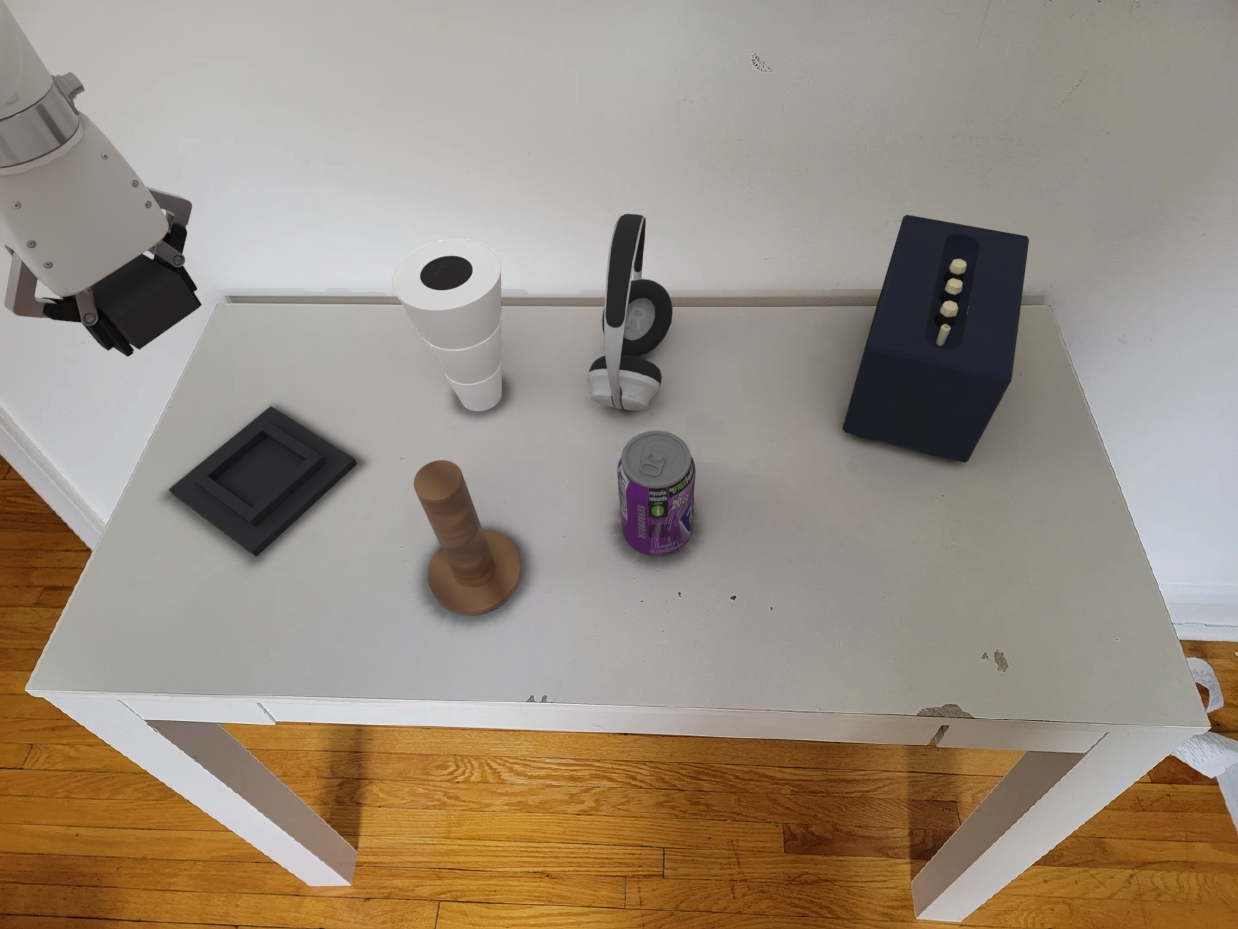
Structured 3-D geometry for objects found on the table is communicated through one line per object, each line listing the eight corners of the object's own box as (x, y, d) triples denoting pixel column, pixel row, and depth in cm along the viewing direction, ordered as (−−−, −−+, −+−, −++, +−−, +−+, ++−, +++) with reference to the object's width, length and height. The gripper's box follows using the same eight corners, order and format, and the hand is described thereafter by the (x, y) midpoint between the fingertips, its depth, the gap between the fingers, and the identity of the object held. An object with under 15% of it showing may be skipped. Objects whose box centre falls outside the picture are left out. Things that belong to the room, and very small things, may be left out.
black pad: (139, 350, 62) (114, 318, 59) (97, 322, 64) (71, 290, 61) (200, 307, 65) (179, 274, 62) (158, 282, 67) (135, 249, 64)
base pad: (256, 557, 77) (246, 546, 76) (172, 494, 83) (161, 482, 81) (357, 463, 84) (350, 451, 82) (274, 411, 89) (266, 398, 87)
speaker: (875, 311, 94) (906, 205, 82) (984, 334, 91) (1033, 228, 79) (838, 441, 83) (868, 340, 71) (962, 473, 80) (1015, 374, 67)
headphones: (608, 317, 96) (598, 173, 80) (675, 321, 95) (678, 176, 79) (582, 436, 85) (564, 297, 69) (658, 442, 84) (657, 302, 68)
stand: (480, 633, 71) (440, 545, 59) (411, 585, 75) (359, 492, 62) (540, 562, 76) (515, 466, 63) (472, 519, 79) (435, 420, 66)
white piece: (416, 407, 88) (368, 285, 74) (475, 350, 94) (441, 226, 79) (487, 445, 85) (451, 324, 70) (545, 384, 90) (522, 259, 75)
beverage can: (675, 570, 74) (677, 501, 65) (610, 544, 76) (602, 474, 67) (703, 513, 78) (708, 440, 68) (639, 490, 80) (636, 416, 70)
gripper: (94, 54, 56) (211, 254, 71) (-150, 172, 48) (38, 370, 63) (156, 80, 53) (264, 282, 68) (-93, 210, 45) (90, 408, 60)
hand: (155, 323), depth 65 cm, fingers closed on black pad, 6 cm apart
